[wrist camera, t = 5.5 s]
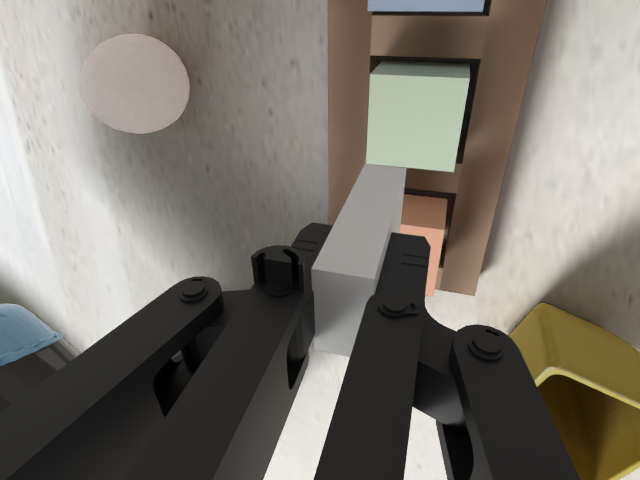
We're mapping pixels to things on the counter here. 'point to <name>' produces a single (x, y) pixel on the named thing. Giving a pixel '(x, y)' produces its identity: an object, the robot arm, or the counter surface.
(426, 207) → the key rust
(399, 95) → the key sage
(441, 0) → the key slate
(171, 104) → the egg
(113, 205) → the counter surface
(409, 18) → the board
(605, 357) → the flower pot
